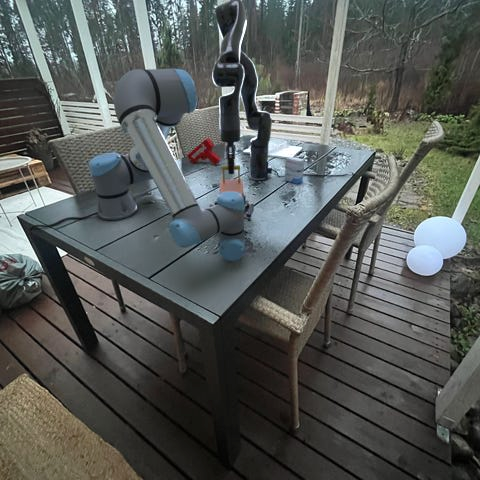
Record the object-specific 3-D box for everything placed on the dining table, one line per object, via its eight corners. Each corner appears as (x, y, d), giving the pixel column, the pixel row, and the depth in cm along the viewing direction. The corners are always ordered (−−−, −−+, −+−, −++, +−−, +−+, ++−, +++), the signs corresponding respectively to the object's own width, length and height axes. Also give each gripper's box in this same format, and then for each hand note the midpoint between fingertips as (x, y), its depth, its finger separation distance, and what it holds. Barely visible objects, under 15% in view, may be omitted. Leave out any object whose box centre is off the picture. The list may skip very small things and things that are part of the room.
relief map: (291, 159, 177) (291, 151, 174) (243, 153, 190) (243, 145, 187) (302, 149, 197) (303, 142, 194) (258, 144, 211) (258, 137, 208)
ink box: (302, 181, 142) (305, 159, 136) (297, 184, 139) (300, 161, 133) (289, 177, 147) (291, 156, 141) (284, 180, 144) (285, 158, 138)
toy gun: (223, 158, 167) (209, 137, 163) (221, 160, 164) (206, 138, 160) (204, 173, 177) (189, 154, 173) (201, 175, 174) (186, 155, 170)
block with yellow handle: (220, 181, 116) (219, 162, 110) (242, 181, 116) (242, 162, 111) (219, 196, 105) (218, 176, 100) (243, 196, 105) (243, 175, 100)
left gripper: (200, 236, 93) (205, 207, 112) (264, 235, 93) (258, 206, 112) (198, 217, 89) (203, 190, 108) (265, 215, 89) (259, 189, 108)
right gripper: (220, 123, 105) (222, 167, 115) (219, 131, 94) (221, 179, 104) (239, 123, 106) (240, 167, 115) (240, 131, 94) (241, 178, 104)
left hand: (231, 198), depth 110 cm, fingers closed on chest, 9 cm apart
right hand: (231, 172), depth 109 cm, fingers closed on block with yellow handle, 2 cm apart
